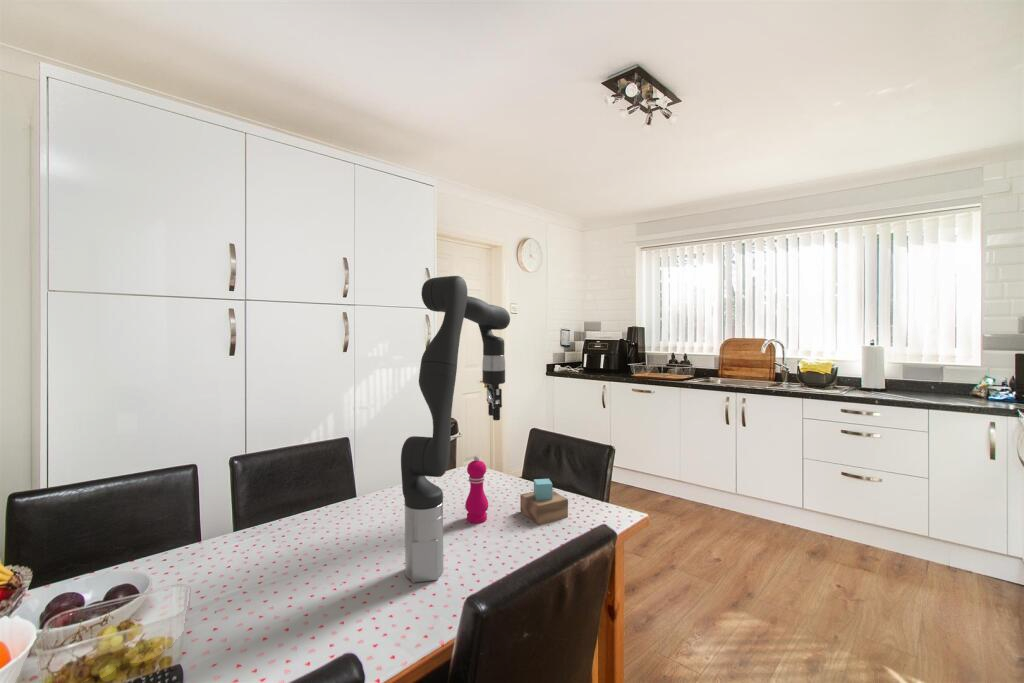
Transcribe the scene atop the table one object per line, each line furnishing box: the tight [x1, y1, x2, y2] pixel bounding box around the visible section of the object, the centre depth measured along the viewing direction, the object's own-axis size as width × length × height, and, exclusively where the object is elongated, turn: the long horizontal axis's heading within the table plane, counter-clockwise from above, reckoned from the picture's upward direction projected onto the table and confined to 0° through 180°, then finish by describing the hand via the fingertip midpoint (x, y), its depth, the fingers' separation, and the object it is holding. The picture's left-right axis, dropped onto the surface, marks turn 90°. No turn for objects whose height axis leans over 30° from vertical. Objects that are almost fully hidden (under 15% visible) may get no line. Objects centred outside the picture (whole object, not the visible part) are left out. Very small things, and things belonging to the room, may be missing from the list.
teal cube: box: [533, 478, 553, 500], centre depth 148 cm, size 5×5×5 cm
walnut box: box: [519, 490, 569, 525], centre depth 148 cm, size 11×11×6 cm
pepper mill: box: [464, 455, 489, 524], centre depth 144 cm, size 7×7×20 cm
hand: (494, 417), depth 153 cm, fingers open, 8 cm apart
